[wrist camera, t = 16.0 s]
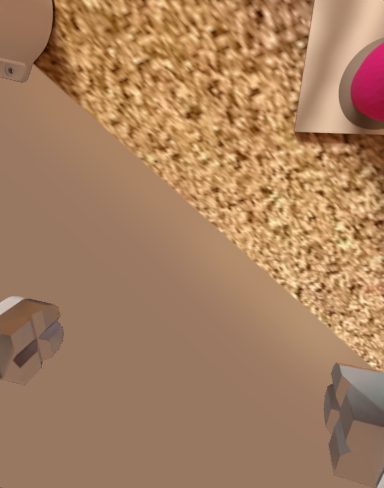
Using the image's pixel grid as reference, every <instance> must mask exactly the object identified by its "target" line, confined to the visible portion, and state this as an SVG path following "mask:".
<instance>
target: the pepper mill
mask: <svg viewBox="0 0 384 488" xmlns="http://www.w3.org/2000/svg"><path fill="white" fill-rule="evenodd" d="M350 92H351V99H352V102H353V104H354V106H355V107H356V109H357V110H359V111H360V112H361V113H363V114H365V115H367V116H368V117H370V118H372V119H375V120H379V121H384V43H382V44H380V45H379V46H378V47H376V48H375V49H374V50H373V51H372V52H371V53H370V54H369V55H368V56H367V57H366V58H365V60H364V61H363V63H362V64H361V66H360V68H359V69H358V71H357V72H356V74H355V76H354V78H353V80H352V84H351V91H350Z"/></svg>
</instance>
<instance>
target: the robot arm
mask: <svg viewBox="0 0 384 488" xmlns="http://www.w3.org/2000/svg"><path fill="white" fill-rule="evenodd" d="M52 21H53V6H52V0H0V77H2V78H6V79H10V80H14V81H18V82H25V81H26V80H27V79H28V77H29V74H30V71H31V68H32V64H33V63H34V61H35V60H36V59H37V58H38V56H39V55H40V54H41V53H42V52H43V50H44V48H45V47H46V45H47V42H48V40H49V37H50V33H51V29H52ZM12 69H13V73H12ZM59 317H60V312H59V308H58V307H57V306H56V305H53V304H50V303H45V302H41V301H37V300H32V299H26V298H22V297H18V296H12V297H9V298H7V299H6V300H4V301H2V302H1V303H0V379H1V380H6V381H9V382H13V383H17V384H21V385H26V384H27V383H28V381H29V380H30V379H31V378H32V377H33V376H34V375H35V374H36V373H37V372H38V371H39V370H40V369H41V368H42V362H43V361H44V360H47V359H49V358H51V357H52V356H53V355H54V354H55V353H56V352H57V351H58V350H59V348H60V346H61V344H62V342H63V336H64V332H63V327H62V326H61V324H60V323H59V322H58V321H57V320H58V319H59ZM331 376H332V381H333V384H331V385H329V386H328V387H327V390H326V394H325V401H324V417H325V425H326V428H327V429H328V430H329V431H330V433H331V434H332V436H331V439H330V442H329V450H330V455H331V462H332V468H333V474H334V475H335V476H338V477H341V478H345V479H348V480H351V481H354V482H357V483H360V484H364V485H367V486H370V487H373V488H384V371H377V370H372V369H367V368H362V367H357V366H351V365H347V364H342V363H337V362H336V363H335V365H334V366H333V369H332V373H331ZM0 488H1V487H0Z"/></svg>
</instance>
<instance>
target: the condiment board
mask: <svg viewBox="0 0 384 488" xmlns="http://www.w3.org/2000/svg"><path fill="white" fill-rule="evenodd" d="M382 43H384V0H314V5H313V11H312V18H311V24H310V31H309V37H308V44H307V50H306V57H305V63H304V70H303V76H302V83H301V89H300V96H299V102H298V109H297V115H296V122H295V128H294V132H318V133H347V134H376V135H384V121H379V120H375V119H372V118H370V117H368V116H367V115H365V114H363V113H361V112H360V111H359V110H357V109H356V107H355V106H354V104H353V102H352V99H351V92H350V91H351V84H352V80H353V78H354V76H355V74H356V72H357V71H358V69H359V68H360V66H361V64H362V63H363V61H364V60H365V58H366V57H367V56H368V55H369V54H370V53H371V52H372V51H373V50H374V49H375V48H376V47H378V46H379V45H380V44H382Z"/></svg>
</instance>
